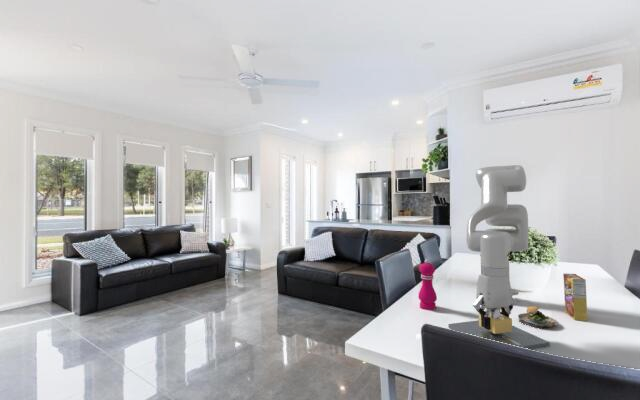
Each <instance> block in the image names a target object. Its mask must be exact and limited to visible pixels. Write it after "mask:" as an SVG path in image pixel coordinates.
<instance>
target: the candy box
mask: <svg viewBox="0 0 640 400" xmlns="http://www.w3.org/2000/svg"><path fill="white" fill-rule="evenodd" d="M586 280H587V279H585V278H583V277H581V276H580V275H577V274H576V273H563V287H564V288H563V289H564V290H563V291H564V293H563V294H564V308H565V310H564V311H565V313H566V314H567V315H569V316H570V317H571V318H572V319H573V320H574V321H580V322H588V307H587V306H588V303H587V283H586V282H587V281H586Z"/></svg>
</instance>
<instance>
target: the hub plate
mask: <svg viewBox="0 0 640 400" xmlns="http://www.w3.org/2000/svg"><path fill="white" fill-rule="evenodd" d="M500 312H501V309H500V308H493V309H491V310H490V317H491V318H494V319H499V317H500ZM448 328H449V329H450V330H452V331H453V330H455V331H459V332H463V333H468V334H472V335H476V336H479V337H483V338H487V339H491V340H495V341H499V342H503V343H507V344H511V345H515V346H519V347H523V348H528V349H530V350H536V349H541V347H542V348H547V347H546V346H549V347H550V346H551V345H550V344H551V343H550V341H548V340H546V339H543V338H541V337H539V336H537V335H534V334H532V333H530V332H528V331H525V330H523V329H521V328H519V327H517V326H515V325H512V332H505V333H498V334H494V333H492V332H490V331H488V330H486V329H485V328H483V327H481V326H479V319H478V320H471V321H470V320H469V321H463V322H454V323H448ZM455 331H454V332H455Z"/></svg>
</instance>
